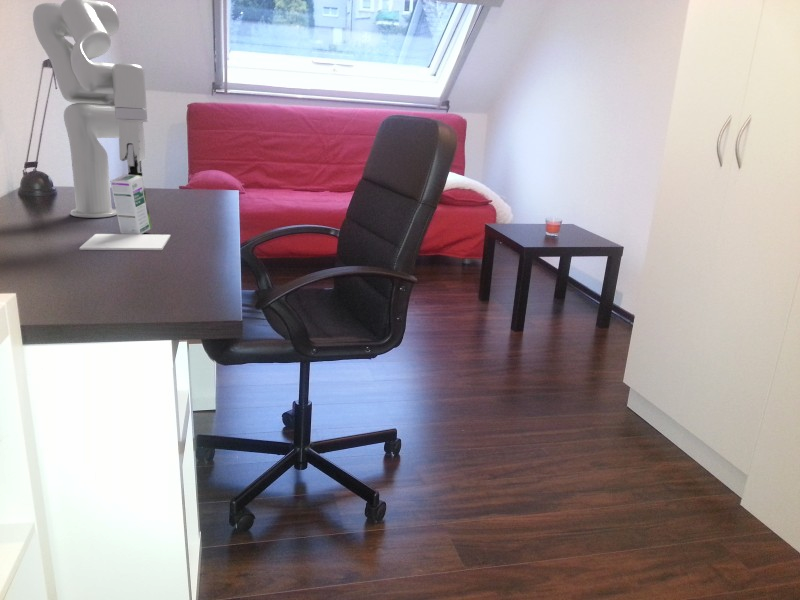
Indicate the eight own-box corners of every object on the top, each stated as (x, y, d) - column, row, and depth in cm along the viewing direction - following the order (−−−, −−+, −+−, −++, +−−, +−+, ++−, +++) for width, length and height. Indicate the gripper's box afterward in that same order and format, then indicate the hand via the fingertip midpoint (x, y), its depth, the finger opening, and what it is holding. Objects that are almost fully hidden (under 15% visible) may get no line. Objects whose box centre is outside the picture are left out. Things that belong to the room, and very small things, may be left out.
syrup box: (140, 236, 166) (130, 181, 160) (119, 234, 167) (109, 179, 161) (152, 228, 171) (143, 175, 165) (132, 226, 172) (122, 173, 166)
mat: (95, 235, 164) (95, 233, 164) (170, 236, 168) (170, 234, 167) (79, 249, 149) (79, 247, 149) (161, 250, 153) (161, 248, 152)
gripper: (121, 114, 170) (126, 184, 175) (109, 115, 156) (115, 191, 161) (151, 115, 171) (155, 185, 177) (142, 116, 158) (147, 192, 163)
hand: (136, 188), depth 169 cm, fingers closed
